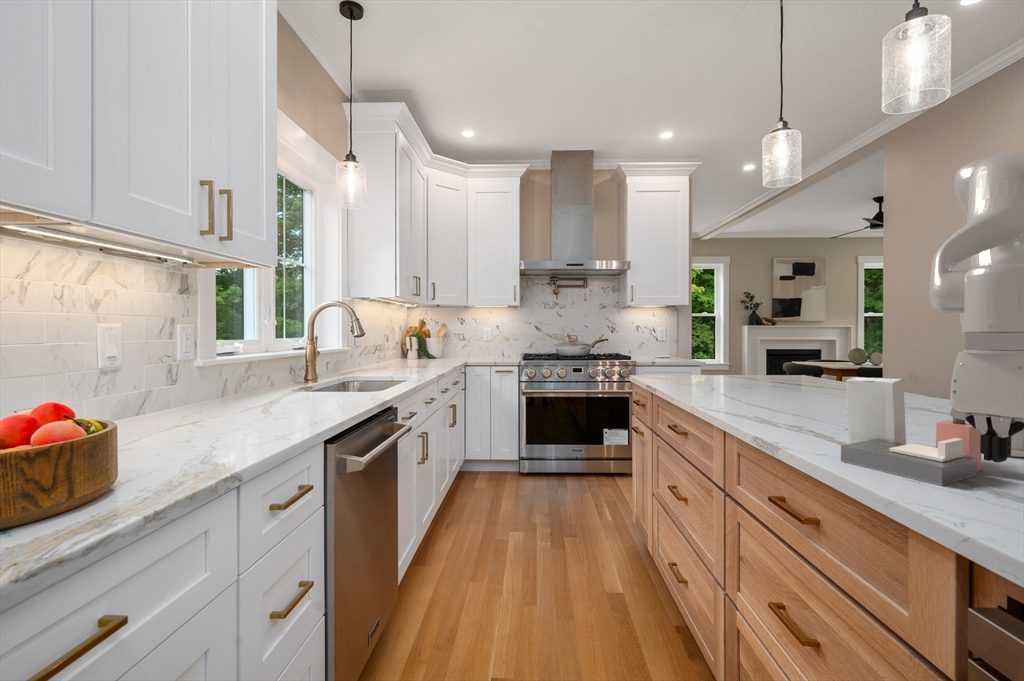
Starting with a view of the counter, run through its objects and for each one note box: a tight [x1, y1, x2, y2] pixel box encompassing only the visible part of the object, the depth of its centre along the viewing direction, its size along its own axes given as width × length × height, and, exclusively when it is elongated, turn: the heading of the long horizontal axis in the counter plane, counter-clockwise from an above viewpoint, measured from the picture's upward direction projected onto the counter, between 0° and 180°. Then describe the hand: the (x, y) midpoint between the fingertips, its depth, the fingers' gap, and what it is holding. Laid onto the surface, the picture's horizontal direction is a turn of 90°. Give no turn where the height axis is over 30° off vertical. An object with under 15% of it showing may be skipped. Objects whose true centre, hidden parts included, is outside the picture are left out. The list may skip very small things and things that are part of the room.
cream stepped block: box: [889, 438, 965, 462], centre depth 80 cm, size 8×8×3 cm
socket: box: [840, 439, 978, 487], centre depth 82 cm, size 12×15×3 cm
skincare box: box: [845, 376, 907, 445], centre depth 93 cm, size 8×6×15 cm
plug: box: [935, 417, 983, 471], centre depth 81 cm, size 4×4×10 cm
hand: (995, 460), depth 72 cm, fingers closed
